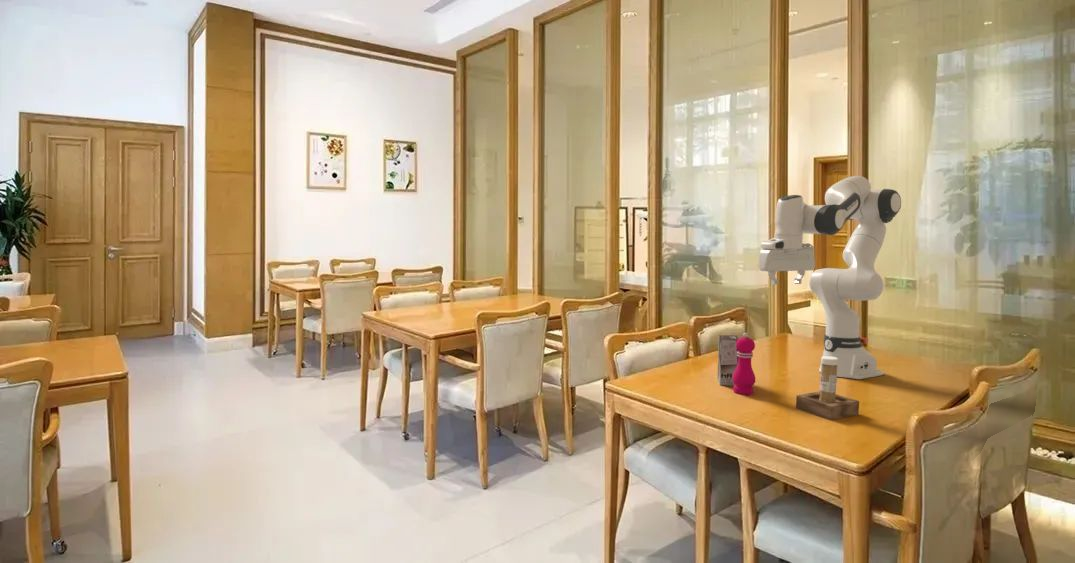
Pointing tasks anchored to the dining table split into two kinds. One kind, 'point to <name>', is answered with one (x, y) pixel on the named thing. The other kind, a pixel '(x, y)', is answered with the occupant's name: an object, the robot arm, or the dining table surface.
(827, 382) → the sprinkles bottle
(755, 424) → the dining table surface
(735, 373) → the pepper mill
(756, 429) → the dining table surface
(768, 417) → the dining table surface
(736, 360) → the coffee box
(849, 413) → the walnut pedestal
